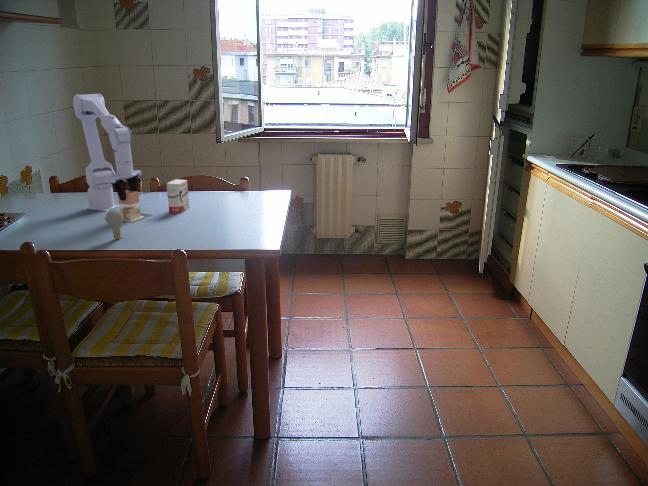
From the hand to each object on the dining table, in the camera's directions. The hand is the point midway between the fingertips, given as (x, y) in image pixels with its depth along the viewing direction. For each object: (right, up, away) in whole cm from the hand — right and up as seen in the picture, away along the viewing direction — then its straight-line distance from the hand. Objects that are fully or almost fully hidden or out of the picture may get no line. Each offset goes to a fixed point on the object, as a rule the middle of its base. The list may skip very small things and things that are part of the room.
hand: (128, 198), depth 199 cm
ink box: (+15, -4, +13) cm, 20 cm away
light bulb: (+4, -15, -21) cm, 26 cm away
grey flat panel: (-1, -7, +4) cm, 8 cm away
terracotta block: (0, -2, 0) cm, 2 cm away
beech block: (0, -7, +2) cm, 8 cm away
